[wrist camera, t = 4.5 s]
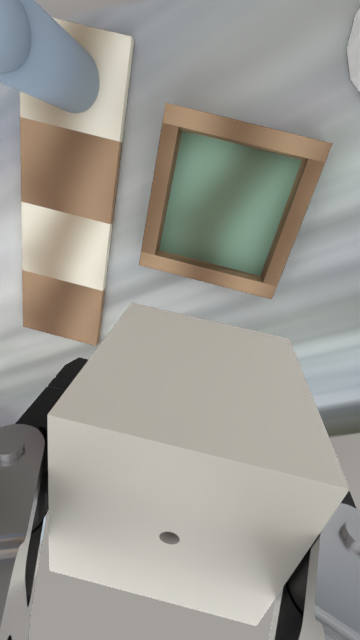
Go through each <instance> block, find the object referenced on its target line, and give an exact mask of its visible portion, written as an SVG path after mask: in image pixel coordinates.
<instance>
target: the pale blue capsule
mask: <svg viewBox="0 0 360 640" xmlns="http://www.w3.org/2000/svg"><path fill="white" fill-rule="evenodd" d="M0 83H3V84H5V85H7V86H10V87H12V88H14V89H16V90H19V91H21V92H23V93H26V94H28V95H30V96H32V97H35V98H37V99H39V100H42V101H44V102H46V103H48V104H51V105H53V106H55V107H58V108H60V109H62V110H65V111H67V112H70V113H81V112H84V111H86V110H88V109H89V108H90V107H91V106H92V105H93V103H94V102H95V100H96V98H97V95H98V92H99V83H100V82H99V73H98V69H97V66H96V64H95V62H94V60H93V58H92V57H91V55H90V54H89V53H88V52H87V51H86V50H85V49H84V48H83V47H82V46H81V45H80V44H79V43H78V42H77V41H76V40H75V39H74V38H73V37H72V36H71V35H70V34H69V33H68V32H67V31H66V30H64V29H63V28H62V27H61V26H60V25H59V24H58V23H57V22H56V21H55V20H54V19H53V18H52V17H51V16H50V15H49V14H48V13H47V12H46V11H45V10H44V9H42V8H41V7H40V6H39V5H38V4H37V3H36V2H35V1H34V0H0Z"/></svg>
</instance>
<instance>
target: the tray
mask: <svg viewBox="0 0 360 640" xmlns="http://www.w3.org/2000/svg"><path fill="white" fill-rule="evenodd" d="M331 146H332V143H328V142H324V141H320V140H316V139H312V138H308V137H304V136H300V135H296V134H292V133H288V132H283V131H279V130H275V129H271V128H267V127H263V126H259V125H255V124H251V123H247V122H243V121H239V120H234V119H230V118H226V117H222V116H218V115H214V114H210V113H206V112H202V111H198V110H194V109H190V108H186V107H181V106H177V105H173V104H169V103H166V105H165V111H164V117H163V123H162V129H161V135H160V141H159V147H158V153H157V159H156V165H155V171H154V177H153V183H152V189H151V195H150V201H149V207H148V213H147V219H146V225H145V231H144V237H143V243H142V249H141V256H140V262H139V265H141V266H145V267H149V268H153V269H157V270H161V271H165V272H169V273H172V274H176V275H180V276H184V277H188V278H192V279H196V280H200V281H203V282H207V283H211V284H215V285H219V286H223V287H227V288H231V289H234V290H238V291H242V292H246V293H250V294H254V295H258V296H262V297H265V298H269V299H272V297H273V295H274V292H275V290H276V287H277V285H278V282H279V279H280V277H281V274H282V272H283V269H284V267H285V264H286V262H287V259H288V256H289V254H290V251H291V249H292V246H293V244H294V241H295V238H296V236H297V233H298V231H299V228H300V226H301V223H302V221H303V218H304V215H305V213H306V210H307V208H308V205H309V203H310V200H311V198H312V195H313V192H314V190H315V187H316V185H317V182H318V180H319V177H320V174H321V172H322V169H323V167H324V164H325V162H326V159H327V157H328V154H329V151H330V149H331Z"/></svg>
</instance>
